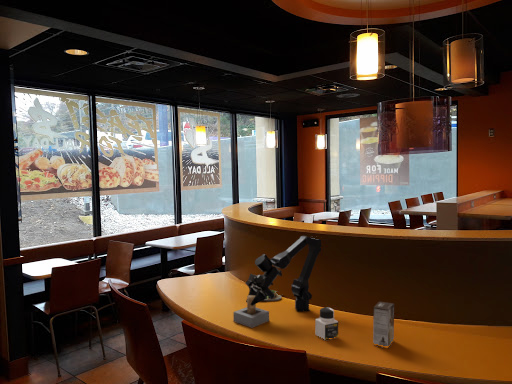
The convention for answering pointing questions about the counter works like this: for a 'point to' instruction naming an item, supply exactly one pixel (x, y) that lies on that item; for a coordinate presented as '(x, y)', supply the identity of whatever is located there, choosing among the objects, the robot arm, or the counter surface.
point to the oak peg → (251, 309)
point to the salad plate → (274, 297)
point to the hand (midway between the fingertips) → (249, 303)
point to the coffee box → (383, 323)
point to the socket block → (251, 317)
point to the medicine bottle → (326, 324)
